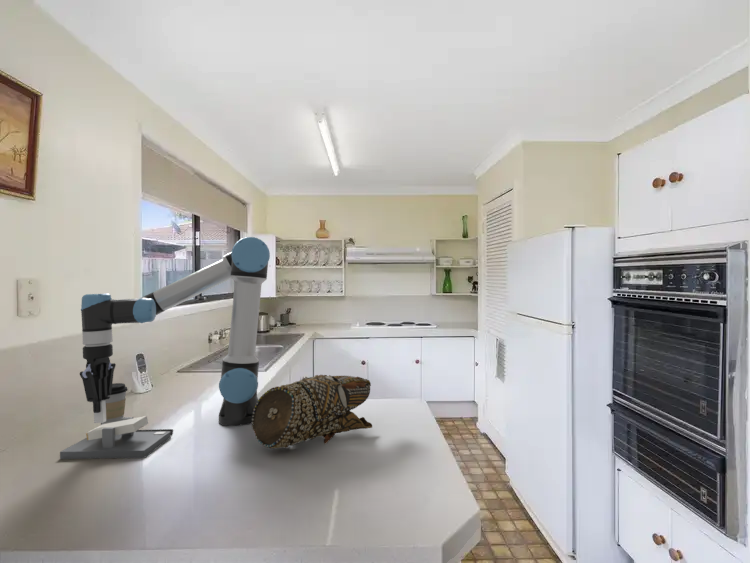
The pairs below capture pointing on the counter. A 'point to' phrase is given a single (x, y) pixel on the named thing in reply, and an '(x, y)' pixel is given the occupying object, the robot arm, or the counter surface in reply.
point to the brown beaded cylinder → (309, 410)
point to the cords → (156, 430)
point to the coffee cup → (116, 403)
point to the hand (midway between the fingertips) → (100, 422)
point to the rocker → (119, 427)
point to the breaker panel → (117, 445)
